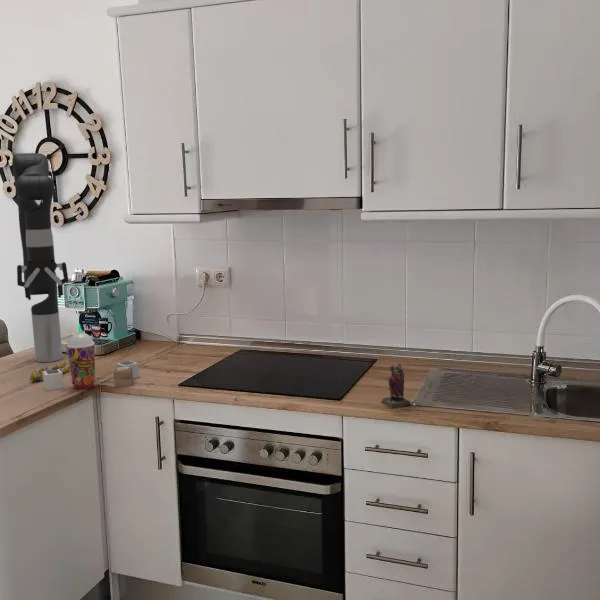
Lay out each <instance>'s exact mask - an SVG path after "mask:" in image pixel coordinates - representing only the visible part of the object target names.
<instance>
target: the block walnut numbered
mask: <svg viewBox="0 0 600 600" xmlns="http://www.w3.org/2000/svg"><path fill="white" fill-rule="evenodd" d="M113 380H114V381H113V382H114V388H121V387H122V388H124V387H132V386H133V383H134V379H133V370H132V367H119V368H117V367H116V368H115V369H114V371H113Z"/></svg>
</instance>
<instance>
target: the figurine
mask: <svg viewBox="0 0 600 600" xmlns="http://www.w3.org/2000/svg"><path fill="white" fill-rule="evenodd" d="M389 371H390V372H391V375H390V374H389V375H388V379H387V381H388V390H389V395H390V397H388V396H387V397H383V398H382V400H381V403H382V404H383V405H385V406H386V407H388V408H389V409H391V410H392V409H401V408H404V407H406V406H409V405H410V406H411V404H412V403H411V401H410V400H408V399H406V398H405V397H404V396H405V394H404V391H405V372H404V370H403V368H402V364H401V363H398V364H397V365H394V364H392V365H390V366H389Z"/></svg>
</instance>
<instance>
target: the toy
mask: <svg viewBox="0 0 600 600" xmlns="http://www.w3.org/2000/svg"><path fill="white" fill-rule="evenodd" d="M67 364H68V363H67V362H66V361H65V362H64V363H60V364H55V365H51V366H49V367H48V366H47V365H45V366H41V367H40V368H36V369H35V370H34V372H33V373H32V374H31V375H30V378H29V381H31V382H32V383H35V382H39V380H40V381H44V380H43V372H44V371H49V370H56V369H59V370H60V371H61V372H62V373H64V374H65V373H66V374H67V373H68V372H69V371H70V365H69V366H67V367H66V365H67Z"/></svg>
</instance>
